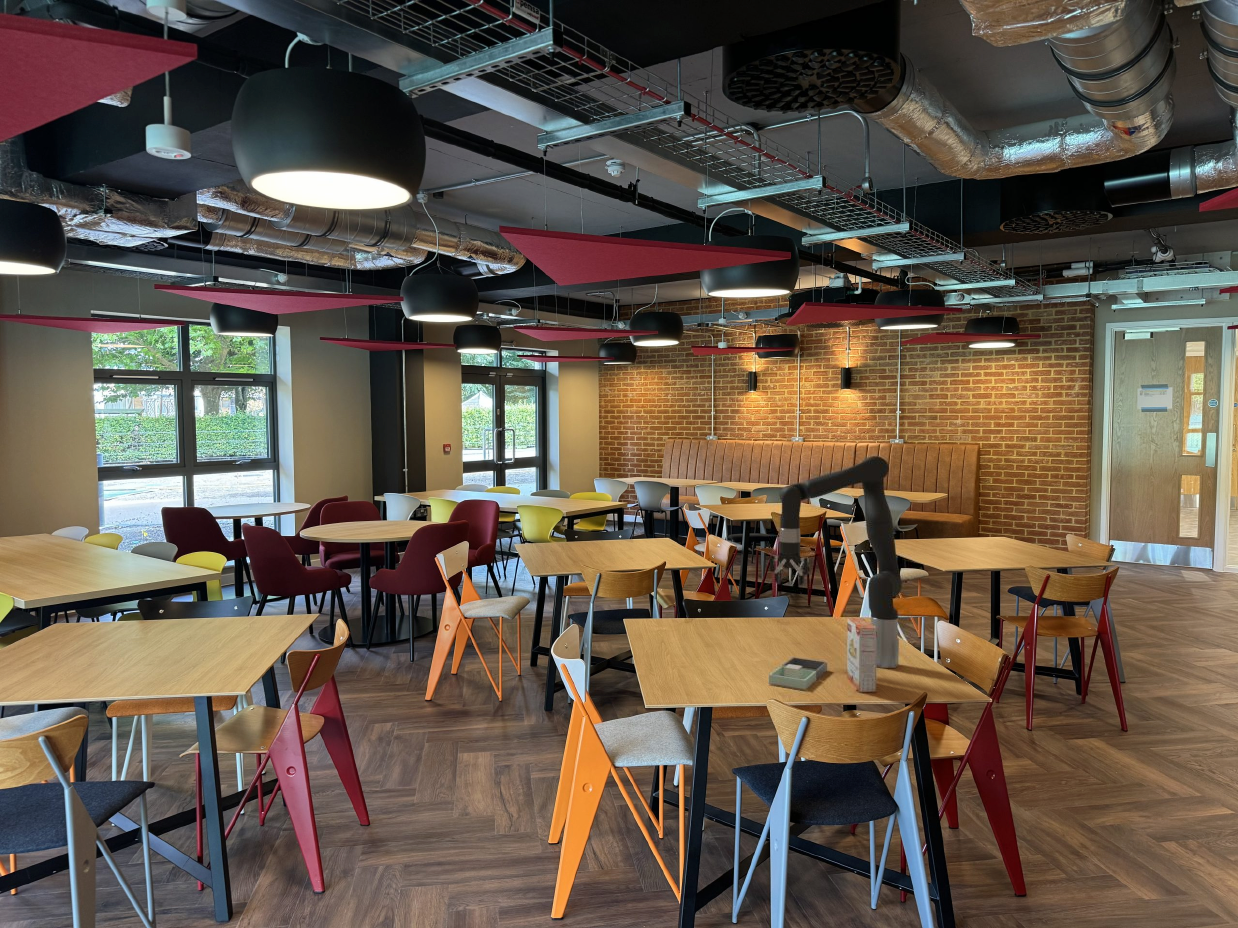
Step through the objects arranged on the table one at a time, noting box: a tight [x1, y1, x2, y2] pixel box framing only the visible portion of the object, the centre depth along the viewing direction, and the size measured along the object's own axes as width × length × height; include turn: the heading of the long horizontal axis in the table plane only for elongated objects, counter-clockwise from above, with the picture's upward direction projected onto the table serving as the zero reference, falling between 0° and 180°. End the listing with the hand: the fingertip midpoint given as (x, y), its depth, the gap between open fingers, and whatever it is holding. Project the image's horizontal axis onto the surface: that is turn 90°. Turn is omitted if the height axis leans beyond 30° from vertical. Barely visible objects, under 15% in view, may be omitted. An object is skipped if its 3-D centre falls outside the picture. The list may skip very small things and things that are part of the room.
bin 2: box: [781, 657, 828, 680], centre depth 270 cm, size 12×12×4 cm
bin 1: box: [768, 665, 817, 692], centre depth 259 cm, size 12×12×4 cm
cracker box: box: [846, 618, 877, 693], centre depth 257 cm, size 14×6×21 cm, turn 179°
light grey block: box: [785, 664, 802, 679], centre depth 259 cm, size 4×4×5 cm
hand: (789, 584), depth 288 cm, fingers open, 8 cm apart
